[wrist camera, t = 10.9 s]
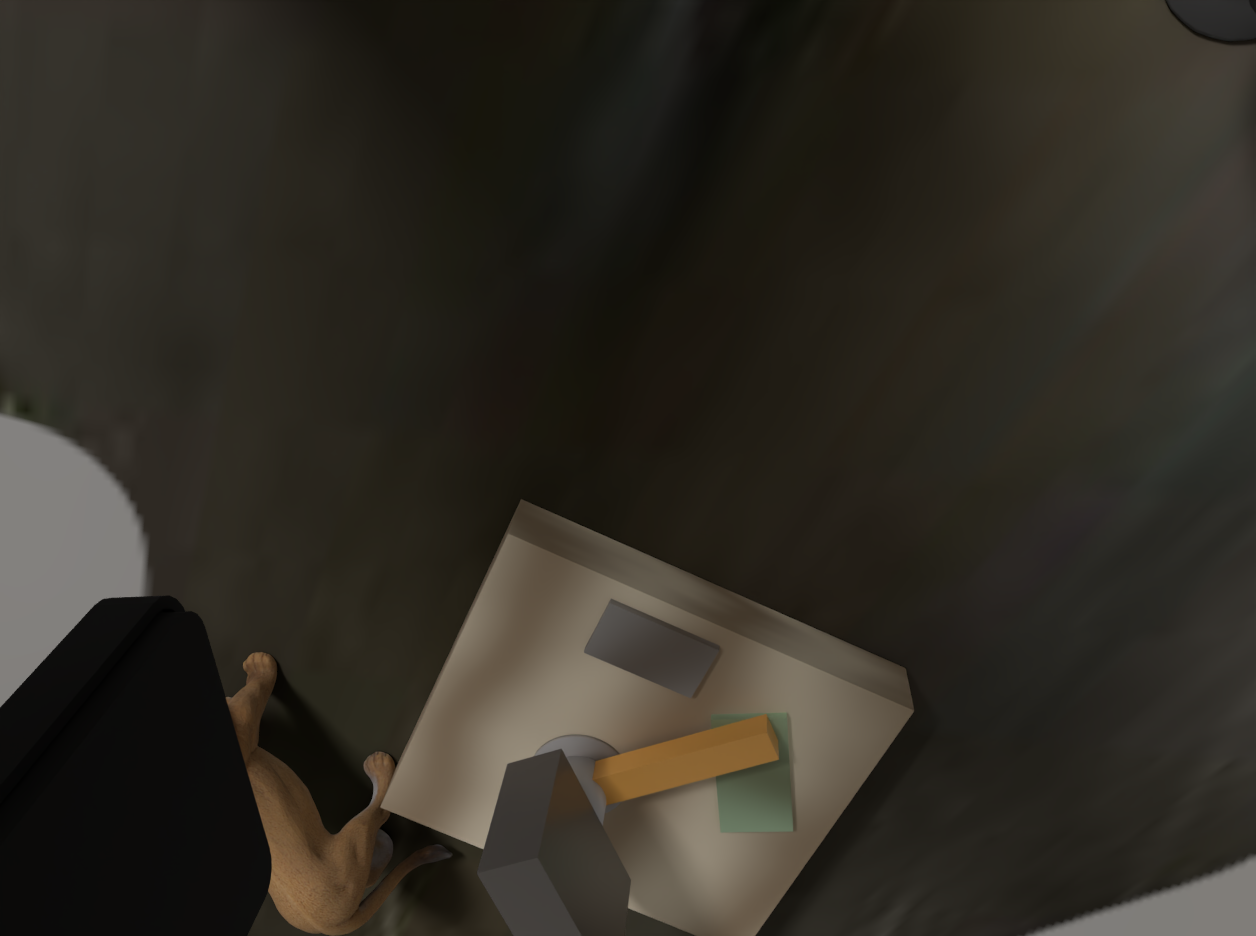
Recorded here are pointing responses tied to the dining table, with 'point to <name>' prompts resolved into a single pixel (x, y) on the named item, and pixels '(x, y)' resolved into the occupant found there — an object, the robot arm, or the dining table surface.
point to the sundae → (1218, 17)
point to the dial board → (650, 717)
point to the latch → (591, 826)
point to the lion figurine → (317, 828)
